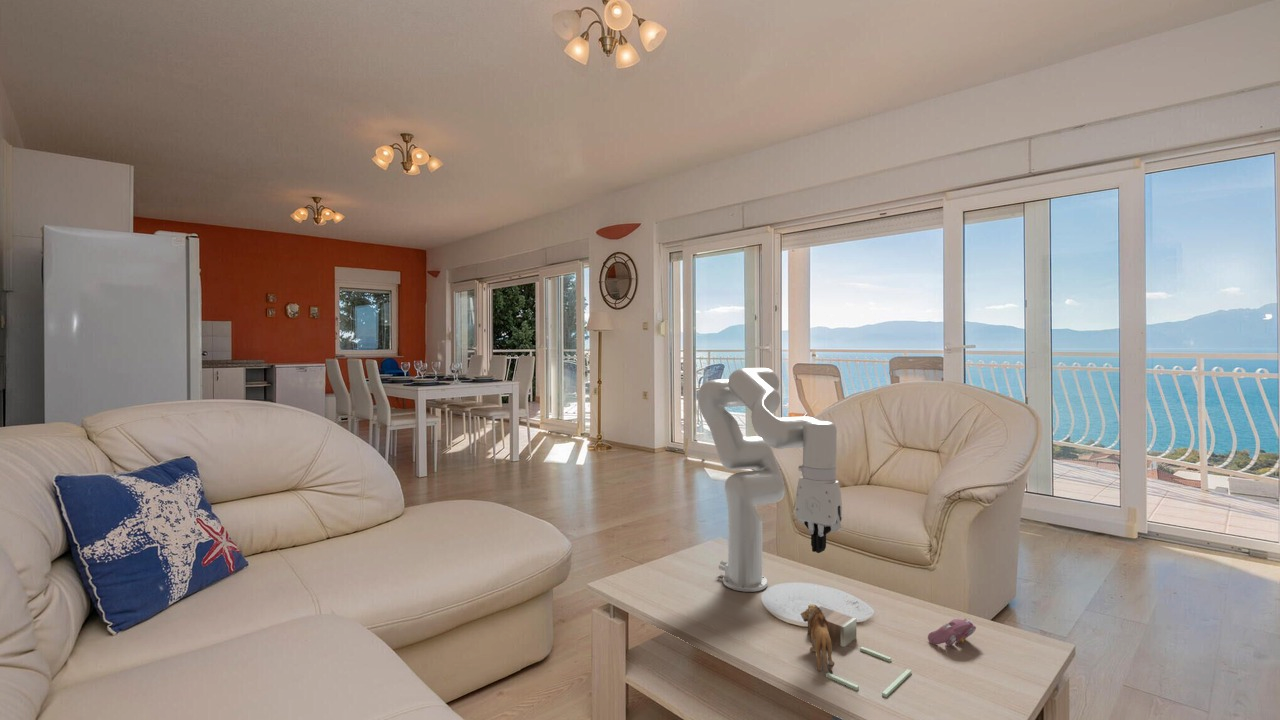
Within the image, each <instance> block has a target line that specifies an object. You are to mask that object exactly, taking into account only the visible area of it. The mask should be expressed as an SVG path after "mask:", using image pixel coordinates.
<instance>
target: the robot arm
mask: <svg viewBox="0 0 1280 720" xmlns="http://www.w3.org/2000/svg"><path fill="white" fill-rule="evenodd" d="M779 388H780V380H779V377H778V375H777V373H776V372H775V371H774V370H772V369H770V368H767V367H742V368H738V369H735V370H734V371H732V372H731V374H730V375H729V377H728V378H716V379H710V380H708V381H707V380H706V382H704V383H702V384H701V385H700V388H699V390H698V398H697V399H698V406H699V410H700V413H701V415H702V417H703V419H704V421H705V422H706V424H707V426H708V428H709V431H710V433H711V435H712V439H713V442H714V443H713V444H714V446H715V449H716V451H717V454H718V458H719V461H720V462H721V465H722V467H723V468H724V469H726V470H729V471H739V472H736V473H733V474H731V475H730V476H728V477H727V479H725V482H724V483H725V484H724V493H725V495H724V496H725V498H726V505H727V521H728V522H727V530H728V531H727V535H728V537H727V543H728V544H727V548H728V549H727V551H728V553H727V560H723V559H722V560H721V561H720V562H719V564H718V567H717V568H718V569H719V570H720V571H724V575H723V576H722V584H723V585H724V586H725V587H727V588H728V589H730V590H734V591H737V592H744V593H745V592H746V593H751V592H752V593H754V592H759V591H762V590H765V589H766V588H767V587H768V585H769V580H768V578H766V577H765V576H764V575H763V520H762V518H761V516H760V514H759V512H758V511H757V509H756V506H760V505H768V504H772V503H778V502H780V501H781V500H782V499H783V498H784V497H785V493H786V485H785V482H784V481H785V480H784V478H783V474H782V471H781V469H780V467H779V464H778V462H777V461H778V460H777V459H776V455H775V453H774V450H773V448H774V449H778V450H780V449H781V450H783V449H792V448H794V449H795V448H802V464H801V465H799V466H798V468H797V469H798V471H799V472H802V473H801V475H802V476H799V478H798V482H797V486H796V491H795V492H796V494H795V503H794V504H795V505H794V515H795V517H796V518H797V521H798V522H799V523H801V524H803V525H805V527H806V528H807V529H808V534H810V535H811V537H810V539H811V540H810V545H811V550H812V551H811V552H813V553H817V554H820V553H822V552H824V551H825V550H826V548H827V535H829V533H831V532H838V531H841V530H842V525H841V524H842V520H843V503H842V492H841V487H840V482H839V480H837V437H838V434H837V426H836V424H835V423H834V422H831V421H827V420H820V419H817V418H814V417H812V416H788V417H785V416H783V417H778V416H776V415H774V414H775V412H776V411H777V410H778V408H779V406H780V403H781V395H780V393H779ZM728 407H729V408H732V407H747V408H748V409H749V410H750V411H751V415H750V416H751V417H750V418H751V423H752V426H753V430H754V431H755V433H756V434H757V435H754V436H753V435H752V436H751V435H750V436H745V435H743V433H742V430H741V428H740V425H739V423H738V421H737V419H736V418H735V417H734V416H733V414H731V413H730V412H729V411H728V410H726V408H728ZM752 469H753V470H752ZM740 470H741V471H740ZM742 470H748V471H742Z"/></svg>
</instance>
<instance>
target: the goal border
mask: <svg viewBox="0 0 1280 720" xmlns="http://www.w3.org/2000/svg"><path fill="white" fill-rule="evenodd" d="M859 651H860V652H863V653H865V654H867V655H871V656H874V657H875V658H878V659H881V660H884V661H886V662H890V663H891V661H892V657H890V656H887V655H886V654H883V653H880V652H877V651H875V650H873V649H870V648H867V647H863V646H860V648H859ZM911 674H912V669H909V668H906V670H905V671H903V672H902V673H901V674H900V675H899V676H898V677H896V679H895V680H894V681H892V683H891V684H890V685H888V687H886V688H885V689H884V690H883V691H882V692H881V696H882V697H884V698H888V696H889V695H891V694H892V692H893V691H895V690H896V689H897V688H898V687H899V686H900V685H901V684H902V683H903V682H904V681H905V680H906V679H907V678H908V677H910V676H911ZM825 677H826V678H827V677H829V678H828V679H830V678H831V679H830V680H832V679H833V680H832V681H834V680H835V681H834V682H836V681H837V683H839V684H841V685H843V686H845V685H846V687H848V688H850V689H852V688H853V689H852V690H854V691H859V689H860V686H859V685H857V684H856V683H854V682H850V681H848V680H846V679H845V678H842V677H839V676H837V675H835V674H834V673H833V674H830V673H829V672H827V673H825Z"/></svg>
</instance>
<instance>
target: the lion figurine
mask: <svg viewBox="0 0 1280 720" xmlns="http://www.w3.org/2000/svg"><path fill="white" fill-rule="evenodd" d="M819 607H820V606H817V605H816V604H808V607H807V608H806V609H805V611H803V612H801V613H800V615H801V618H802V619H803V622H807V626H808V625H809V626H810V631H811V634H810V640H811V646H810V647H809V650H810V651H811V652H815V655H816V663H817V666H816V668H815V669H816V670H817V671H822V670H823V666H822V658H821V653H822V656H823V663H824V665H825V667H826V669H827V673H830V674H833V675H834V672H833V670H832V669H831V667H830V666H833V665H834V664H835V662H834V661H833V659H832V651H833V645H832V642H831V638H830V635H829V632H828V623H827V620H826V619H825V616H824V614H823V612H822V610H821V609H820V608H819ZM826 654H827V655H826ZM829 665H830V666H829Z"/></svg>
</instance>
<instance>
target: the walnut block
mask: <svg viewBox="0 0 1280 720" xmlns="http://www.w3.org/2000/svg"><path fill="white" fill-rule="evenodd" d="M818 607H819V608H820V609H821V610H822V612H823V614H824V616H825V619H826V620H827V623H828V632H829V635H830V638H831V644H832V643H833V644H835V645H838V646H840V647H843V648H845V647H846V646H847V645H849V644H850V643H851V642H852V641H854V640H856V639H857V625H858V623H857V618H856V617H853V616H849V615H847V614H844V613H842V612H839V611H836V610H832V609H831V608H827V607H824V606H821V605H820V606H818ZM807 634H809V635H811V631H810V626H809V625H808V624H807Z"/></svg>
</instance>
